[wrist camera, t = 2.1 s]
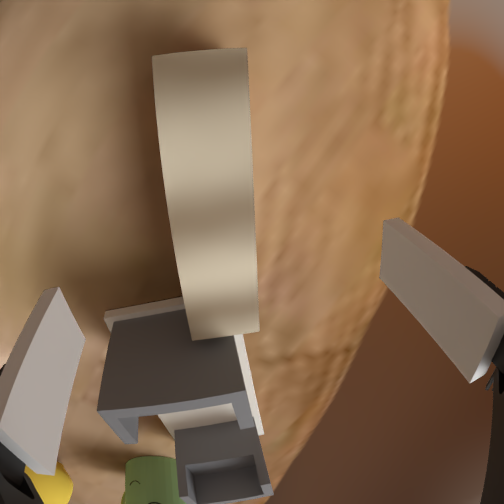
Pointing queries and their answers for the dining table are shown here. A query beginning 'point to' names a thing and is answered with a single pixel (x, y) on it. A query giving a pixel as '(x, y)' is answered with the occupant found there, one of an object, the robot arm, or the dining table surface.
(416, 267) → the robot arm
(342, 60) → the dining table surface
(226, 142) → the rail
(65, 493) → the teapot
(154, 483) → the mug
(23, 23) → the dining table surface
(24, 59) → the dining table surface
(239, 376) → the bracket board
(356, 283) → the dining table surface
